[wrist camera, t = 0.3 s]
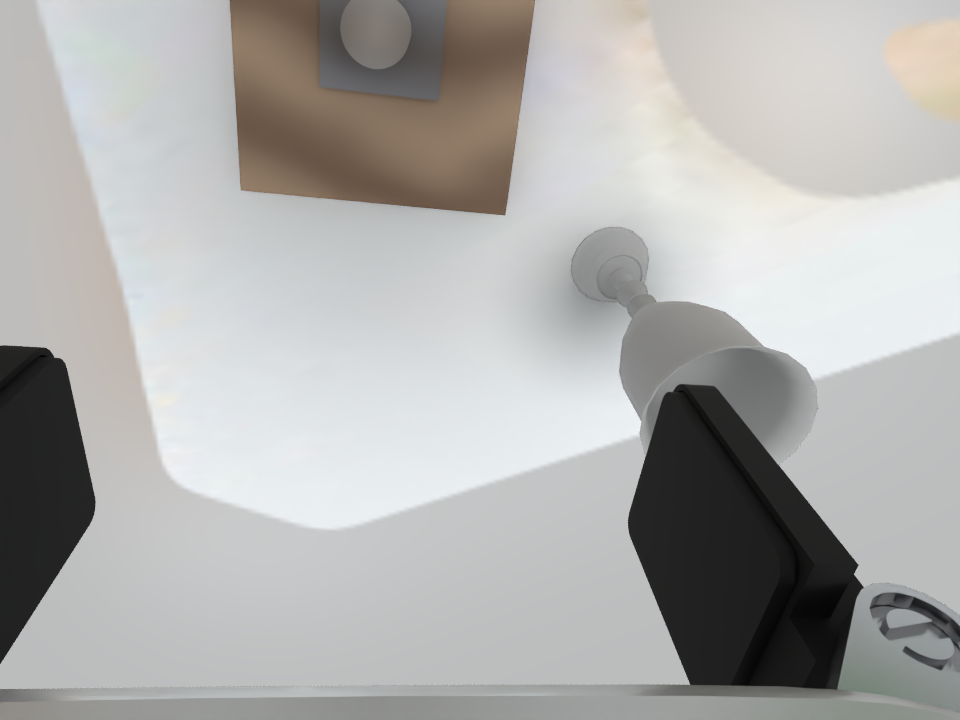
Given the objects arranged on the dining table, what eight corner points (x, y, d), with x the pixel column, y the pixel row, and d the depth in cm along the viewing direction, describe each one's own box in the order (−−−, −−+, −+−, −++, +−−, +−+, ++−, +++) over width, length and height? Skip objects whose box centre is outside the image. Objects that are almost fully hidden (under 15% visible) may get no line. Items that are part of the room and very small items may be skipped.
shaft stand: (225, -222, 28) (152, -311, 21) (552, -164, 30) (599, -225, 23) (247, 184, 37) (200, 230, 29) (502, 208, 39) (523, 258, 31)
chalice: (543, 304, 42) (618, 478, 26) (569, 204, 39) (671, 333, 23) (646, 319, 43) (777, 494, 28) (679, 223, 40) (848, 358, 25)
